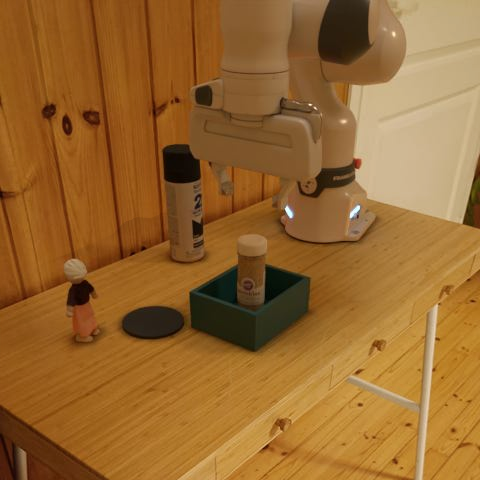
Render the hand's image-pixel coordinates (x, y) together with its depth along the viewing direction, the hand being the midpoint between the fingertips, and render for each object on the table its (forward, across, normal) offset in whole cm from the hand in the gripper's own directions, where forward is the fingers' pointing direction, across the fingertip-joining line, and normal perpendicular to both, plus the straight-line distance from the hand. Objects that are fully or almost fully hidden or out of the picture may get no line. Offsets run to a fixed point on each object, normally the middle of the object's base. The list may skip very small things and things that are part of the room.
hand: (252, 201), depth 88 cm
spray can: (+19, +24, -13) cm, 34 cm away
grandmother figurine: (+20, +18, +20) cm, 33 cm away
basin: (+19, 0, 0) cm, 19 cm away
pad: (+19, +12, +10) cm, 25 cm away
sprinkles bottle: (+19, 0, 0) cm, 19 cm away
